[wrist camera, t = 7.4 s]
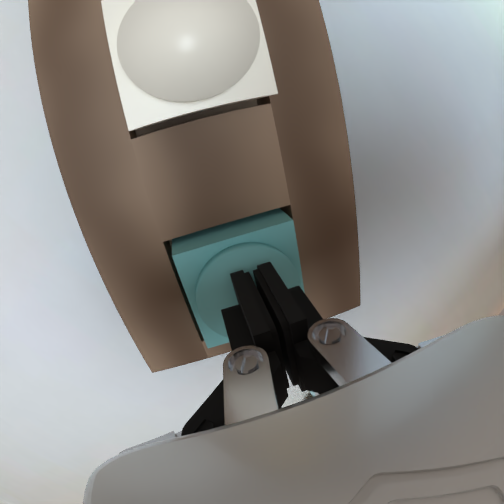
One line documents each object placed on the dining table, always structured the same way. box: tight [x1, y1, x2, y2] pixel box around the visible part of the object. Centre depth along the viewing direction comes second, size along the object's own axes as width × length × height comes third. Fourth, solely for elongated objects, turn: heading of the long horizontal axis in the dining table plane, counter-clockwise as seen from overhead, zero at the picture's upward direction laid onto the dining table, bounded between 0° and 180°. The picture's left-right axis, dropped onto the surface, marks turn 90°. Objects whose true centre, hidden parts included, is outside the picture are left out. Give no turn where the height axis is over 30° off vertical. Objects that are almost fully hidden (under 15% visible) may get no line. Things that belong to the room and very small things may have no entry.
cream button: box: [101, 0, 278, 131], centre depth 9 cm, size 5×5×4 cm
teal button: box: [172, 208, 305, 348], centre depth 14 cm, size 5×5×4 cm
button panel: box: [28, 0, 360, 373], centre depth 11 cm, size 12×28×3 cm, turn 12°
